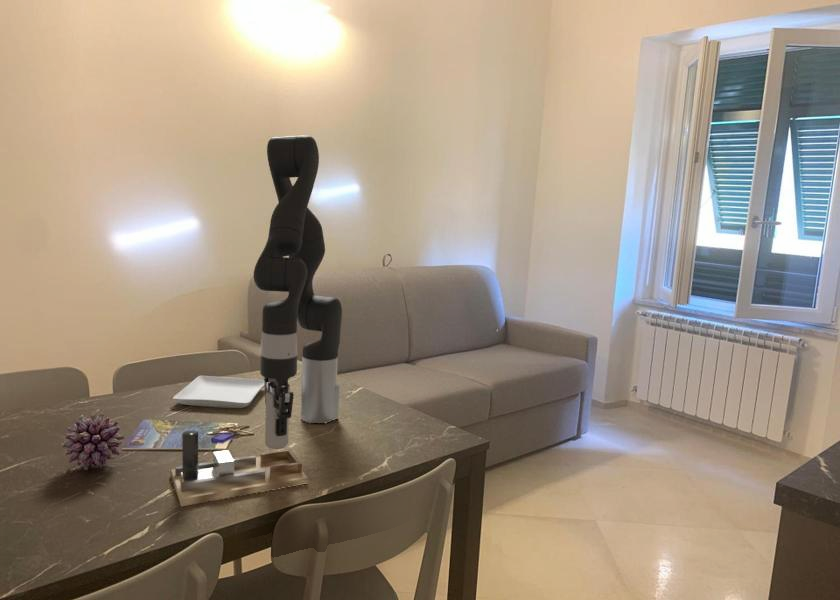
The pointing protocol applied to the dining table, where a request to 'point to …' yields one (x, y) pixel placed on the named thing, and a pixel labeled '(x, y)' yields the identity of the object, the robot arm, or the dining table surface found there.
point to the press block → (190, 472)
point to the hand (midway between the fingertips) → (277, 430)
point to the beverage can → (273, 426)
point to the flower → (93, 441)
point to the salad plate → (219, 392)
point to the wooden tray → (242, 478)
